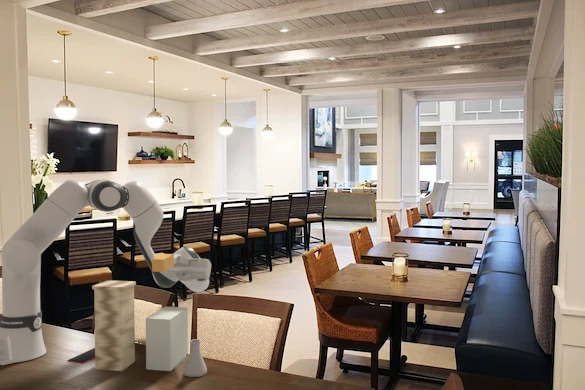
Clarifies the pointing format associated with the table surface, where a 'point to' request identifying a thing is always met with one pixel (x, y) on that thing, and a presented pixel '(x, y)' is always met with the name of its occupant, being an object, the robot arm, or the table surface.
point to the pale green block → (166, 338)
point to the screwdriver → (164, 262)
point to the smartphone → (83, 357)
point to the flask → (195, 361)
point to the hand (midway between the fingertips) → (174, 257)
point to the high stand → (114, 325)
